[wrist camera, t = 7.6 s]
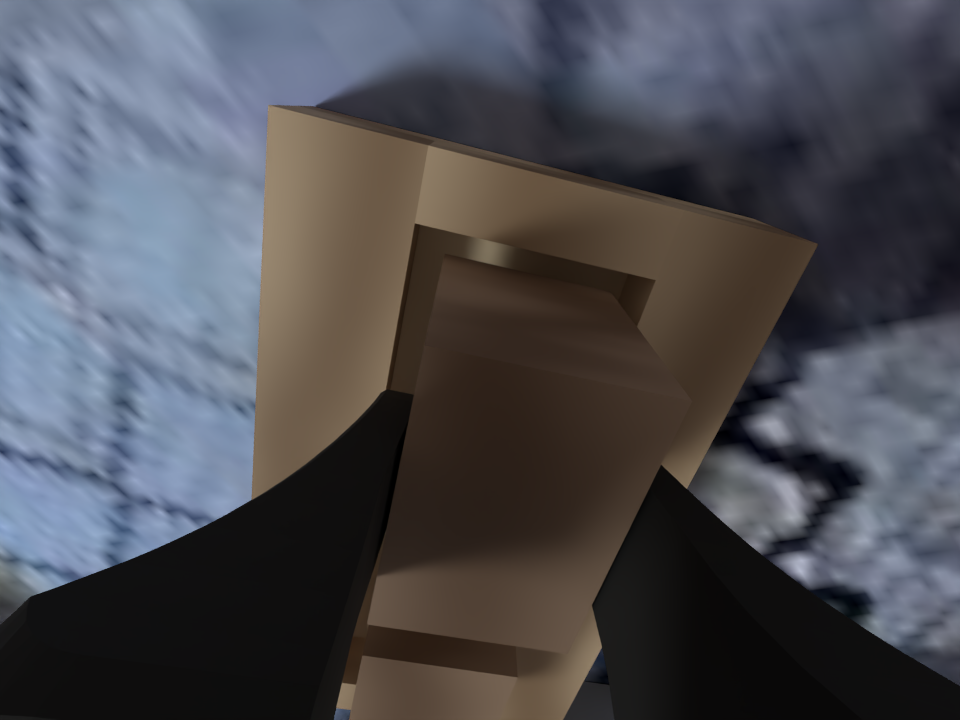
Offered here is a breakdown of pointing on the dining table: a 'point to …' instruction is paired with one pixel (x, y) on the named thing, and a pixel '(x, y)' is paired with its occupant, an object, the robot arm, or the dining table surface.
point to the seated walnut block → (432, 677)
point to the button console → (591, 703)
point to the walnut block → (520, 458)
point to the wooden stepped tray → (494, 240)
